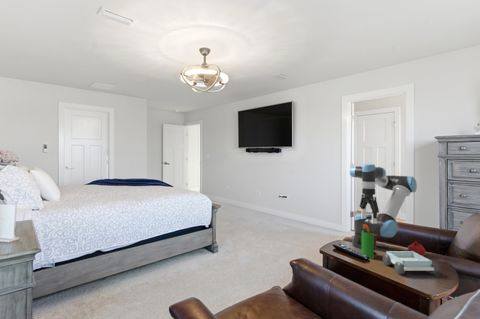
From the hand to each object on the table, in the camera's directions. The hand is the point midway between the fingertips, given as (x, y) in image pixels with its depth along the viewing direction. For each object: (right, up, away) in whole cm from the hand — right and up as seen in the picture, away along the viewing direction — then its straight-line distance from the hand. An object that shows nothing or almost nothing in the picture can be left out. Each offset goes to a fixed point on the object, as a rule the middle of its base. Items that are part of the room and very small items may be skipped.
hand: (368, 221), depth 165 cm
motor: (0, -23, 0) cm, 23 cm away
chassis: (+12, -22, -20) cm, 32 cm away
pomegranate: (+32, -23, +2) cm, 40 cm away
